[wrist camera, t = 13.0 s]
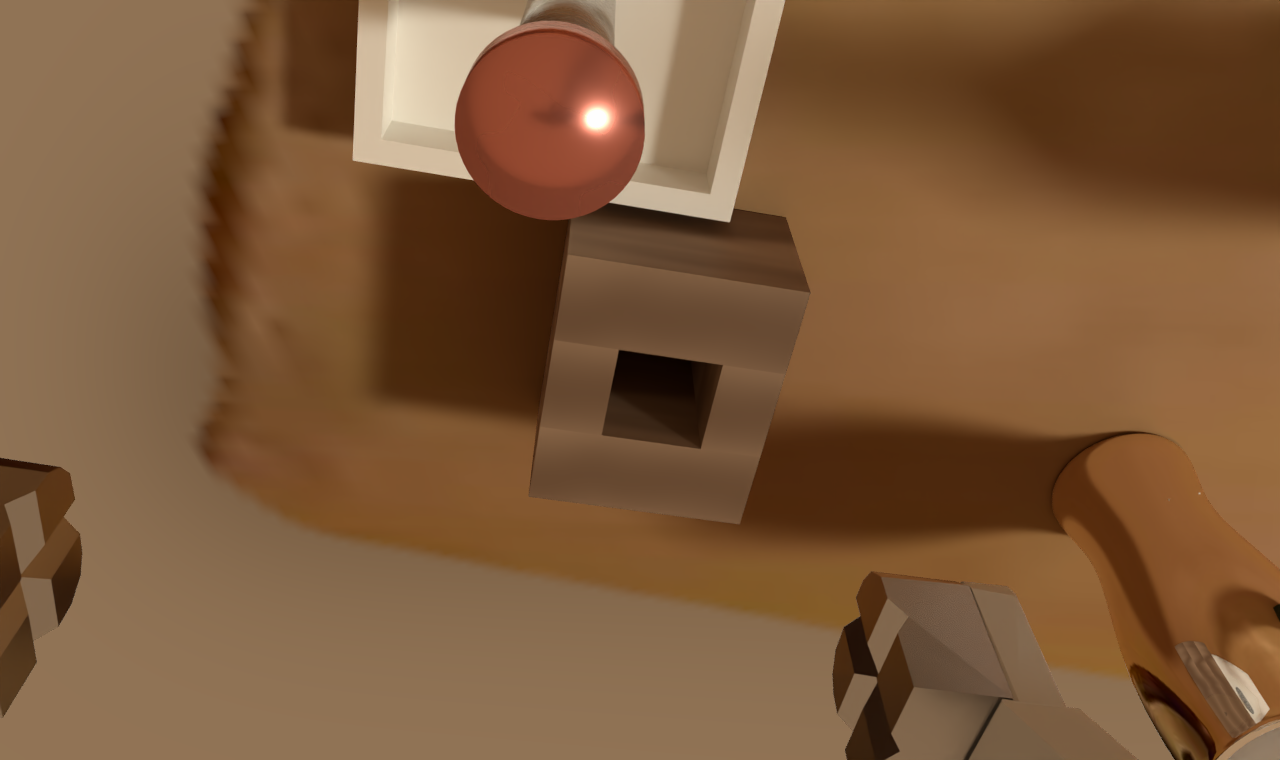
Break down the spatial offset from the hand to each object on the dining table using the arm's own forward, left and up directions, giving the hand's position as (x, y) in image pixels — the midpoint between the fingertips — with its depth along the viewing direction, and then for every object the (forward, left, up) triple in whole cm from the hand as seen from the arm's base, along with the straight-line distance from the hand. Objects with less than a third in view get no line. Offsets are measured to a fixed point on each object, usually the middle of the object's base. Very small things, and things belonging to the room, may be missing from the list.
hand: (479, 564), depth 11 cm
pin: (0, 0, -27) cm, 27 cm away
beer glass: (+17, +27, -28) cm, 43 cm away
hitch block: (+12, +5, -28) cm, 31 cm away
